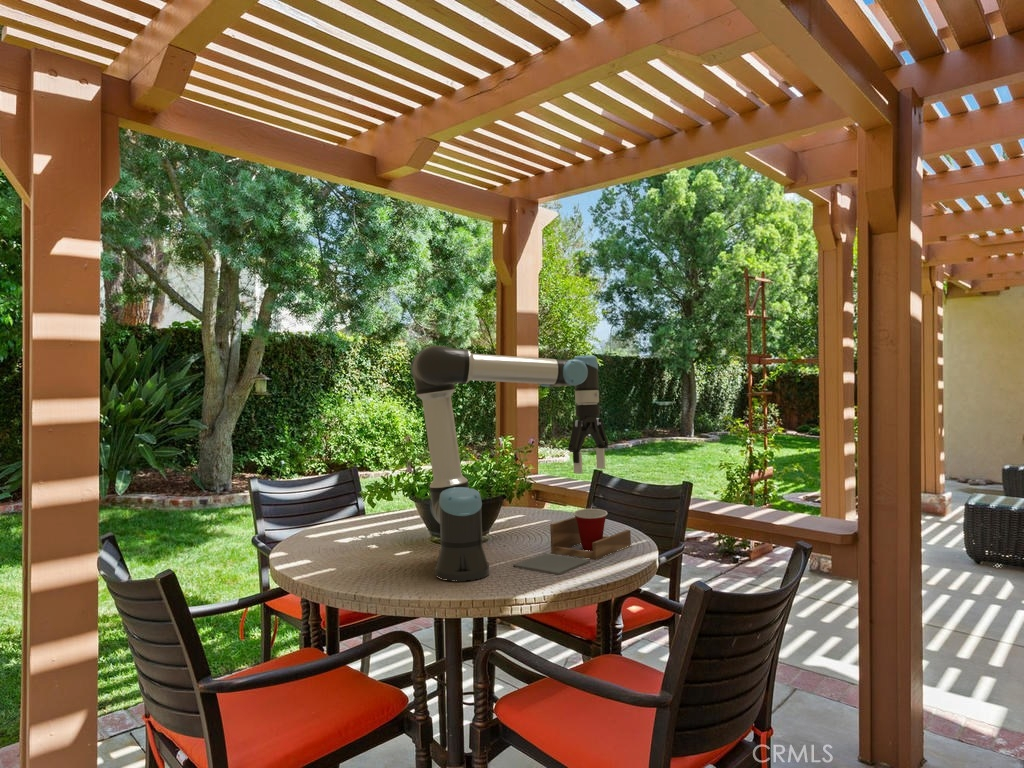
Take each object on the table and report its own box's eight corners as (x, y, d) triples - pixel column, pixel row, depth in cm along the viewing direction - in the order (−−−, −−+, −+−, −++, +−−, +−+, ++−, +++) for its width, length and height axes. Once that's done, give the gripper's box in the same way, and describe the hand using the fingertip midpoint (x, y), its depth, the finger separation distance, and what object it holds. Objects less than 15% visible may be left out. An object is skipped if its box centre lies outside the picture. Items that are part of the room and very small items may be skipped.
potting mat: (513, 566, 189) (513, 564, 189) (545, 555, 201) (545, 553, 201) (558, 575, 179) (558, 572, 179) (589, 562, 192) (589, 560, 192)
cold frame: (551, 552, 204) (550, 524, 204) (587, 539, 221) (586, 513, 221) (596, 560, 194) (595, 529, 194) (630, 545, 211) (630, 517, 211)
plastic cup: (573, 553, 203) (571, 514, 203) (575, 545, 214) (574, 508, 214) (608, 553, 201) (607, 514, 201) (609, 545, 212) (608, 508, 212)
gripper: (575, 405, 196) (578, 476, 195) (617, 402, 215) (619, 467, 215) (555, 405, 200) (557, 474, 200) (597, 403, 220) (599, 466, 220)
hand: (589, 471), depth 207 cm, fingers open, 13 cm apart
